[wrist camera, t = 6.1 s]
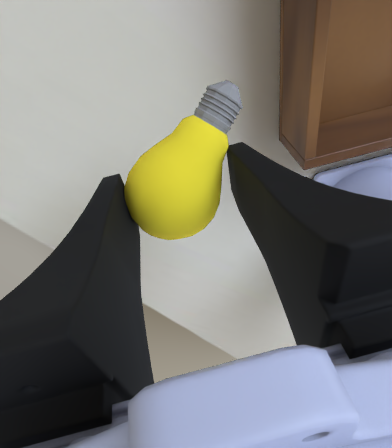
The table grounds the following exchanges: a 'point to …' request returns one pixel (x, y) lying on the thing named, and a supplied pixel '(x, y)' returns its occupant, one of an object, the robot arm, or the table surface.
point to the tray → (335, 79)
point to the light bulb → (184, 169)
